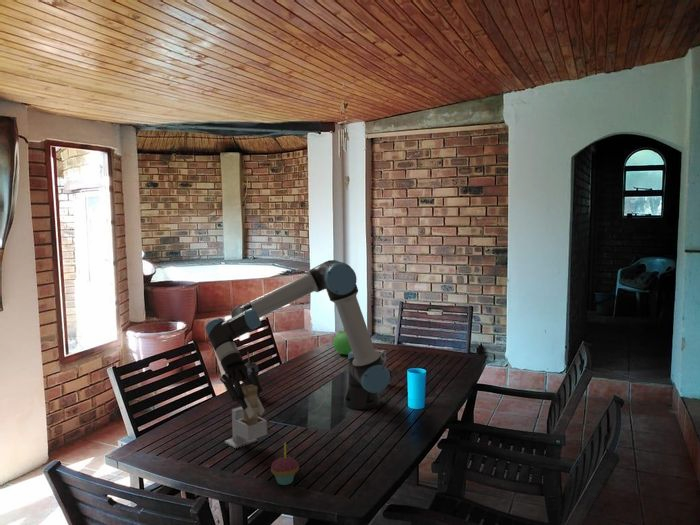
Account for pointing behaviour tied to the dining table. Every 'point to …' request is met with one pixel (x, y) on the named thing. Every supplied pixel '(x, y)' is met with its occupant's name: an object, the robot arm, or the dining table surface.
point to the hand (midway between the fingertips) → (257, 414)
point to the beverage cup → (252, 364)
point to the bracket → (245, 429)
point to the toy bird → (342, 343)
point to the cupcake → (284, 469)
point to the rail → (251, 403)
